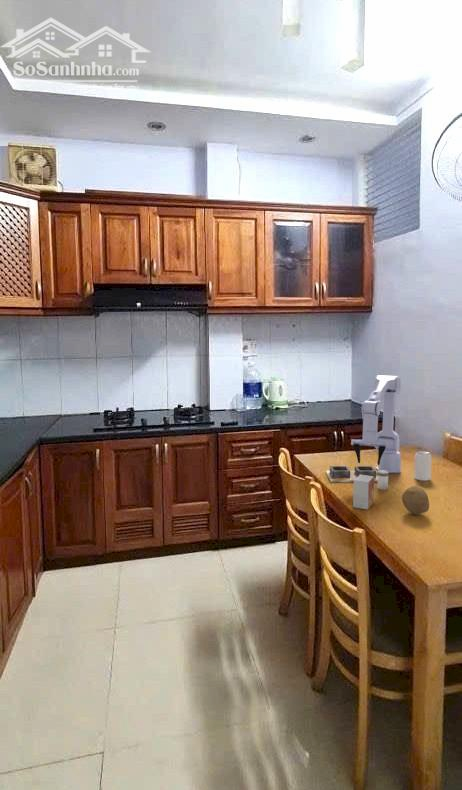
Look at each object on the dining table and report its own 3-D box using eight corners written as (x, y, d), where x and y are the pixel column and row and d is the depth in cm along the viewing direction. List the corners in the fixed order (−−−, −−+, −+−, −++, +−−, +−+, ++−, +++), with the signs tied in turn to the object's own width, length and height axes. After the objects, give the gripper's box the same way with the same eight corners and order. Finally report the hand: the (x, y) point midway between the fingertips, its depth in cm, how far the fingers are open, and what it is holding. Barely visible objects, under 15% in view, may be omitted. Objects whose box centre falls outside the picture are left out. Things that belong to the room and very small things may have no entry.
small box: (367, 510, 170) (368, 482, 168) (352, 507, 173) (353, 479, 171) (374, 503, 177) (374, 476, 175) (359, 500, 180) (359, 473, 178)
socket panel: (372, 472, 214) (372, 463, 213) (380, 482, 200) (381, 473, 199) (325, 472, 215) (326, 464, 214) (330, 482, 201) (330, 473, 200)
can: (431, 481, 200) (433, 454, 198) (415, 480, 201) (416, 453, 199) (428, 476, 206) (429, 450, 204) (413, 476, 207) (414, 449, 206)
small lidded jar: (386, 486, 195) (386, 470, 194) (389, 489, 191) (389, 473, 190) (376, 486, 195) (376, 470, 194) (378, 489, 191) (379, 473, 190)
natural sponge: (400, 507, 172) (401, 481, 170) (427, 510, 169) (428, 483, 167) (401, 517, 163) (402, 489, 162) (429, 520, 160) (430, 492, 159)
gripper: (350, 430, 190) (349, 463, 191) (388, 433, 184) (386, 467, 186) (352, 428, 196) (351, 460, 197) (389, 430, 191) (387, 463, 192)
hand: (368, 463), depth 192 cm, fingers open, 7 cm apart
